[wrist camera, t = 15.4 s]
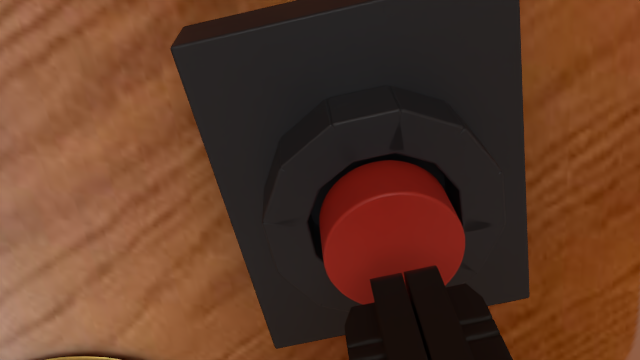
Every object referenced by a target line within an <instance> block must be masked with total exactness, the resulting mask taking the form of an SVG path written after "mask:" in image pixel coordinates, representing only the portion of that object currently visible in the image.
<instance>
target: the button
mask: <svg viewBox="0 0 640 360" xmlns="http://www.w3.org/2000/svg"><path fill="white" fill-rule="evenodd" d="M319 226H320V236H321V245H322V254H323V262H324V267H325V270H326V273H327V275H328V277H329V279H330V281H331V282H332V283H333V284H334V286H335V287H336V288H337V289H338V290H339V291H340V292H341V293H342V294H344V295H345V296H346V297H348V298H350V299H351V300H353V301H355V302H358V303H360V304H363V305H364V304H369V303H374V297H373V293H372V288H371V283H370V279H372V278H377V277H382V276H387V275H391V274H396V273H402V276H403V279H404V272H405V271H410V270H415V269H420V268H424V267H429V266H434V265H436V266H437V268H438V270H439V272H440V275H441V277H442V280H443V282H444V285H446V284H447V283H448V282H449V281H450V280H451V279H452V278H453V277H454V275H455V274H456V272H457V270H458V269H459V267H460V265H461V262H462V259H463V256H464V251H465V234H464V229H463V227H462V224H461V222H460V220H459V218H458V216H457V214H456V212H455V210H454V208H453V206H452V204H451V202H450V200H449V198H448V196H447V194H446V192H445V191H444V189H443V187H442V185H441V184H440V183H439V181H438V180H437V179H436V178H435V177H434V176H433V175H432V174H431V173H429V172H428V171H426V170H425V169H423V168H421V167H419V166H417V165H414V164H411V163H408V162H403V161H395V160H383V161H376V162H372V163H368V164H365V165H362V166H360V167H357V168H355V169H353V170H352V171H350V172H348V173H347V174H345V175H344V176H343V177H341V178H340V179H339V180H338V181H337V182H336V183H335V184H334V185H333V187H332V188H331V189H330V190H329V192H328V193H327V195H326V197H325V199H324V201H323V203H322V206H321V210H320V216H319ZM404 282H405V279H404Z"/></svg>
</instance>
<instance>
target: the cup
mask: <svg viewBox="0 0 640 360" xmlns="http://www.w3.org/2000/svg"><path fill="white" fill-rule="evenodd" d="M46 360H120V359H113V358H104V357H86V356H79V357H61V358H52V359H46Z"/></svg>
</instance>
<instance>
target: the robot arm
mask: <svg viewBox="0 0 640 360" xmlns="http://www.w3.org/2000/svg"><path fill="white" fill-rule="evenodd" d="M404 279H405V282H404ZM404 279H403V276H402V273H396V274H391V275H387V276H382V277H377V278H372V279H370V283H371V288H372V293H373V297H374V303H369V304H364V305H359V306H354V307H351V309H350V312H349V314H348V317H347V320H346V323H345V325H344V328H345V335H346V342H347V348H348V356H349V360H513V359H512V357H511V355H510V353H509V351H508V349H507V347H506V345H505V342H504V340H503V338H502V336H501V335H500V333H499V330H498V328H497V326H496V324H495V322H494V320H493V319H492V315H491V313H490V311H489V309H488V307H487V305H486V303H485V301H484V299H483V297H482V296H481V295H479V294H478V293H477V292H476V291H474V290H473V289H472V288H471V287H470V286H468V285H467V284H466V283H465V284H460V285H455V286H451V287H445V285H444V282H443V280H442V277H441V275H440V272H439V270H438V268H437V266H436V265H434V266H429V267H424V268H420V269H415V270H410V271H405V272H404Z"/></svg>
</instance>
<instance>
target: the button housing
mask: <svg viewBox="0 0 640 360" xmlns="http://www.w3.org/2000/svg"><path fill="white" fill-rule="evenodd" d="M171 52H172V55H173V58H174V61H175V64H176V66H177V69H178V72H179V75H180V78H181V81H182V84H183V86H184V89H185V92H186V95H187V98H188V101H189V104H190V106H191V109H192V112H193V115H194V118H195V121H196V123H197V126H198V129H199V132H200V135H201V138H202V141H203V143H204V146H205V149H206V152H207V155H208V158H209V161H210V163H211V166H212V169H213V172H214V175H215V178H216V181H217V183H218V186H219V189H220V192H221V195H222V198H223V201H224V203H225V206H226V209H227V212H228V215H229V218H230V221H231V223H232V226H233V229H234V232H235V235H236V238H237V240H238V243H239V246H240V249H241V252H242V255H243V258H244V260H245V263H246V266H247V269H248V272H249V275H250V278H251V280H252V283H253V286H254V289H255V292H256V295H257V298H258V300H259V303H260V306H261V309H262V312H263V315H264V318H265V320H266V323H267V326H268V329H269V332H270V335H271V337H272V340H273V343H274V346H275V348H276V349H278V348H283V347H288V346H293V345H297V344H302V343H307V342H312V341H317V340H322V339H327V338H332V337H337V336H342V335H345V328H344V325H345V323H346V320H347V317H348V314H349V312H350V309H351V307H354V306H359V305H363V304H360V303H358V302H355V301H353V300H351V299H350V298H348V297H346V296H345V295H344V294H342V293H341V292H340V291H339V290H338V289H337V288H336V287H335V286H334V284H333V283H332V282H331V281H330V279H329V277H328V275H327V273H326V270H325V267H324V262H323V254H322V245H321V236H320V226H319V216H320V210H321V206H322V203H323V201H324V199H325V197H326V195H327V193H328V192H329V190H330V189H331V188H332V187H333V185H334V184H335V183H336V182H337V181H338V180H339V179H340V178H341V177H343V176H344V175H345V174H347V173H348V172H350V171H352V170H353V169H355V168H357V167H360V166H362V165H365V164H368V163H372V162H376V161H383V160H395V161H403V162H408V163H411V164H414V165H417V166H419V167H421V168H423V169H425V170H426V171H428V172H429V173H431V174H432V175H433V176H434V177H435V178H436V179H437V180H438V181H439V183H440V184H441V185H442V187H443V189H444V191H445V192H446V194H447V196H448V198H449V200H450V202H451V204H452V206H453V208H454V210H455V212H456V214H457V216H458V218H459V220H460V222H461V224H462V227H463V229H464V234H465V251H464V256H463V259H462V262H461V265H460V267H459V269H458V270H457V272H456V274H455V275H454V277H453V278H452V279H451V280H450V281H449V282H448V283H447V284H446V285H445V287H451V286H455V285H460V284H465V283H466V284H467V285H468V286H470V287H471V288H472V289H473V290H474V291H476V292H477V293H478V294H479V295H481V296H482V297H483V299H484V301H485V303H486V305H487V306H490V305H495V304H500V303H505V302H510V301H515V300H520V299H525V298H529V269H528V240H527V211H526V182H525V153H524V124H523V95H522V65H521V36H520V7H519V0H297V1H292V2H288V3H284V4H280V5H275V6H271V7H267V8H262V9H258V10H254V11H249V12H245V13H241V14H237V15H232V16H228V17H224V18H219V19H215V20H211V21H206V22H202V23H198V24H194V25H189V26H185V27H183V28H182V30H181V32H180V33H179V35H178V36H177V38H176V40H175V41H174V43H173V44H172V46H171Z"/></svg>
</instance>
